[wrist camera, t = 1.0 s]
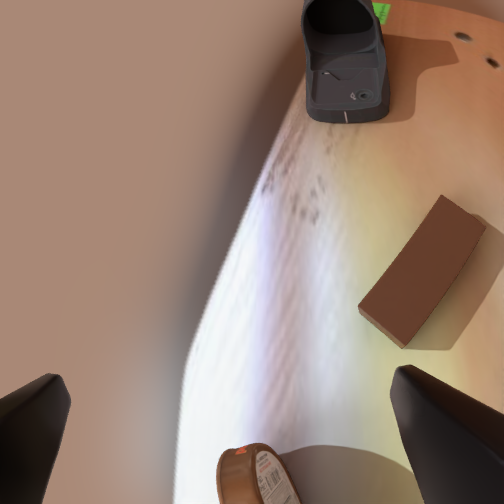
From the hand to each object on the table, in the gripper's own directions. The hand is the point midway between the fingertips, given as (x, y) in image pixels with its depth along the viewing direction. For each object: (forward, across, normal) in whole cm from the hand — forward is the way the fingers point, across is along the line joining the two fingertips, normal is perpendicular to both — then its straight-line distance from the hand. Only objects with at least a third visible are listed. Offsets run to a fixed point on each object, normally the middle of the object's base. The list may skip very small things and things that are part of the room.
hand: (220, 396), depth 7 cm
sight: (+32, -14, -16) cm, 38 cm away
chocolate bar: (+15, -14, +4) cm, 21 cm away
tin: (+7, -3, +21) cm, 22 cm away
